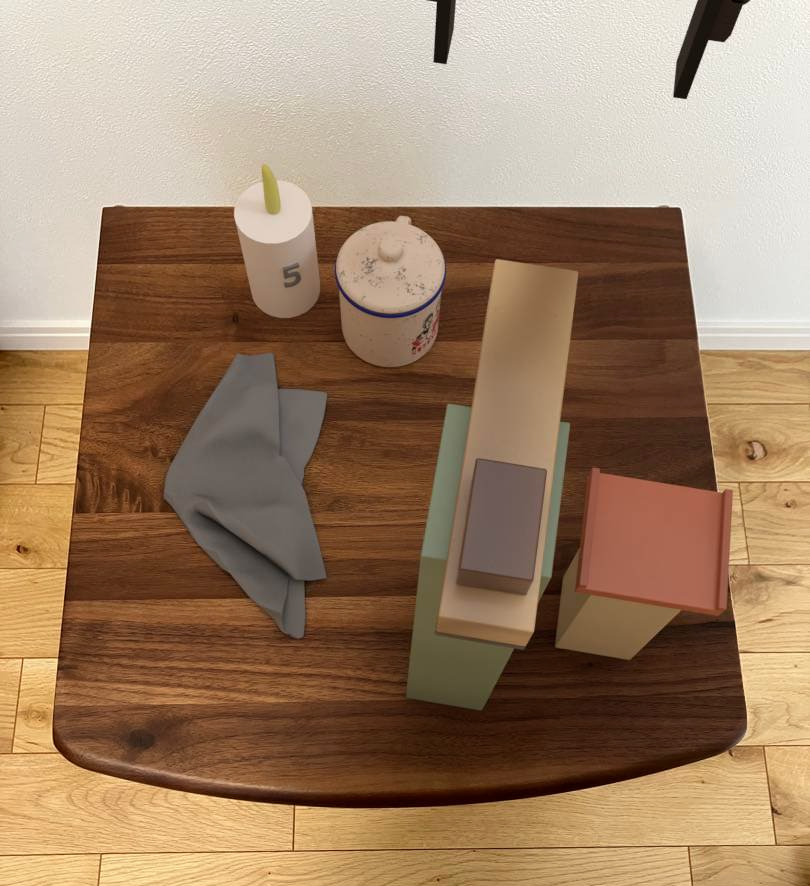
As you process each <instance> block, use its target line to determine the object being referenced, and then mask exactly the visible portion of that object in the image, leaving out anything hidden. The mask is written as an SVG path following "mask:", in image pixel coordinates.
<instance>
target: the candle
mask: <svg viewBox="0 0 810 886" xmlns="http://www.w3.org/2000/svg"><path fill="white" fill-rule="evenodd" d="M261 177H262V178H261V179H262V181H259V182H257V183H255V184H253V185H250V186H249V187H247V188H246V189H245V190H244V191H242V193H241V194H240V196H239V197H238V198H237V200H236V203H235V204H234V209H233V217H234V221H235V226H236V230H237V234H238V239H239V244H240V248H241V253H242V257H243V262H244V266H245V270H246V276H247V279H248V283H249V289H250V293H251V298H252V300H253V302H254V303H255V305H256V307H257V308H258V309H259V310H261V312H263V313H264V314H267V315H269V316H270V317H275V318H278V319H291V318H296V317H299V316H301V315H303V314H306V313H307V312H308V311H310V309H312V308H313V307H314V305H315V304H316V303H317V301H318V300H319V297H320V294H321V280H320V269H319V261H318V251H317V244H316V243H317V241H316V234H315V223H314V222H315V221H314V215H313V206H312V202H311V199H310V198H309V196H308V195H307V193H306V192H305V191H304V190H302V189H301V188H300V187H299V186H297V185H295V184H294V183H292V182H289V181H285V180H279V179H276V177H275V175H274V172H273V171H272V169H271V168H270V166H268V164H266V163H262V164H261Z"/></svg>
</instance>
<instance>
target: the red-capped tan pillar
mask: <svg viewBox="0 0 810 886" xmlns="http://www.w3.org/2000/svg"><path fill="white" fill-rule="evenodd" d="M733 498H734V490H733V489H728V488H725V489H724V490H723V491H722V492H719V491H715V490H708V489H701V488H695V487H689V486H683V485H676V484H670V483H664V482H659V481H653V480H652V481H651V480H647V479H641V478H633V477H629V476H628V477H627V476H622V475H616V474H609V473H603V472H601V468H598V467H592V468H591V470H590V472H589V474H588V476H587V480H586V488H585V498H584V506H583V514H582V523H581V532H580V542H579V548H578V550H577V551H576V553H575V555H574V556H573V558H572V561H571V562H570V563H569V566H568V568H567V569H566V572H565V573H564V575H563V576H562V584H561V592H560V601H559V608H558V609H559V610H558V619H557V626H556V635H555V643H554V648H557V649H561V650H562V649H563V650H569V651H574V652H581V653H586V654H592V655H597V656H598V655H599V656H603V657H610V658H616V659H621V660H626V661H630V660H632V658H634V657H635V656H636V655H637V654H638V653H639V652H640V651H641V650H642V649H643V648H644V647H645V646H647V644H648V643H649V642H650V641H651V640H653V638H654V637H655V636H656V635H657V634H658V633H659V632H661V630H663V629H664V628H665V627H666V626H667V625H668V624H669V623H670V622H671V621H672V620H673V619H674V618H675V617H676V616H678V614H679V613H680V612H681V611H685V612H692V613H696V614H702V615H709V616H715V617H718V616H720V615H721V614H723V612H725V611H726V610H727V609H728V590H729V589H728V588H729V574H730V573H729V572H730V571H729V570H730V554H731V552H730V551H731V535H732V517H733V516H732V515H733V500H734V499H733Z"/></svg>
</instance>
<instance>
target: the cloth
mask: <svg viewBox="0 0 810 886" xmlns="http://www.w3.org/2000/svg"><path fill="white" fill-rule="evenodd" d="M327 401H328V394H327V393H326V392H325V391H318V390H309V389H298V388H278V381H277V372H276V363H275V354H274V353H271V352H266V353H265V352H264V353H260V354H254V355H247V354H244V353H239V352H238V353H236V355H235V357H234V358H233V360H232V361H231V363H230V365H229V366H228V368H227V370H226V371H225V373H224V375H223V376H222V377H221V380H220V381H219V383H218V384H217V386H216V387H215V389H214V390H213V392H212V393H211V395H210V397H209V398H208V400H207V401H206V403H205V404H204V406H203V407H202V408H201V410H200V412H199V413H198V415H197V417H196V419H195V420H194V422H193V424H192V426H191V427H190V429H189V431H188V433H187V435H186V436H185V438H184V439H183V442H182V443H181V446H180V447H179V449H178V451H177V452H176V455H175V456H174V459H173V460H172V462H171V463H170V465H169V466H168V470H167V472H166V475H165V479H164V488H163V489H164V490H163V499H164V500H165V501H166V502H167V503H168V504H169V506H171V507H172V509H173V511H174V512H175V513H176V515H177V516H178V518H179V519H180V521H181V522H182V524H183V525H184V527H185V528H186V529H187V531H188V533H189V534H190V535H191V537H192V539H193V540H194V541H195V543H197V545H198V546H199V547H200V548H201V550H203V551H204V552H205V553H206V554H207V555H208V556H209V557H210V558H211V559H212V560H213V561H214V562H215V564H217V565H218V566H219V567H220V569H222V570H224V571H226V572H227V573H229V574H230V575H231V576H232V579H234V580H235V581H236V583H237V584H238V585H239V586H240V588H241V589H242V590H243V591H244V593H246V595H247V596H248V597H249V598H250V599H251V600H252V601H253V602H254V603H255V604H256V605H257V606H258V607H259V608H260V609H262V610H263V611H264V612H265V613H266V614H267V615H268V616H269V617H270V618H271V619H272V620H273V621H274V623H275V624H276V625H277V627H278V628H279V630H280V631H281V633H284V634H286V635H288V636H290V637H292V638H293V639H296V640H300V639H302V638H304V635H305V627H306V619H307V618H306V593H305V592H306V590H305V582H306V581H307V582H312V581H313V582H314V581H319V580H320V581H321V580H326V579H328V577H327V572H326V568H325V563H324V560H323V556H322V550H321V548H320V547H321V546H320V542H319V539H318V535H317V531H316V528H315V525H314V521H313V518H312V514H311V510H310V506H309V502H308V498H307V494H306V491H305V489H304V487H303V485H302V484H303V480H304V477H305V468H306V466H307V464H308V463H309V461H310V460H311V457H312V456H313V453H314V451H315V449H316V446H317V443H318V440H319V438H320V434H321V430H322V426H323V422H324V418H325V415H326V408H327V407H326V406H327Z"/></svg>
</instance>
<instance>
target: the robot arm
mask: <svg viewBox="0 0 810 886" xmlns="http://www.w3.org/2000/svg"><path fill="white" fill-rule="evenodd" d="M426 1H427V2H433V3H434V2H435V3H436V8H435V9H436V10H435V13H436V14H435V27H434V45H433V59H432V60H433V61H432V63H434V64H440V65H447V63H448V58H449V54H450V49H451V45H452V39H453V35H454V30H455V17H456V16H455V15H456V6H457V0H426ZM749 2H751V0H697V1H696V4H695V6H694V10H693V13H692V15H691V18H690V22H689V24H688V26H687V30H686V33H685V35H684V38H683V42H682V44H681V47H680V50H679V53H678V55H677V59H676V63H675V71H674V72H675V73H674V84H673V93H672V98H674V99H682V100H687V99H688V96H689V94H690V91H691V88H692V86H693V83H694V81H695V78H696V75H697V72H698V69H699V67H700V65H701V62H702V60H703V56H704V54H705V52H706V48H707V45H708V44H709V42H710V41H711V42H717V43H725V42H726V41H727V40H728V39H729V38H730V37H731V36H732V34H733V31H734V28H735V26H736V24H737V21H738V18H739V17H740V14H741V11H742V9H743V6H744V5H747V4H748V3H749Z"/></svg>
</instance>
